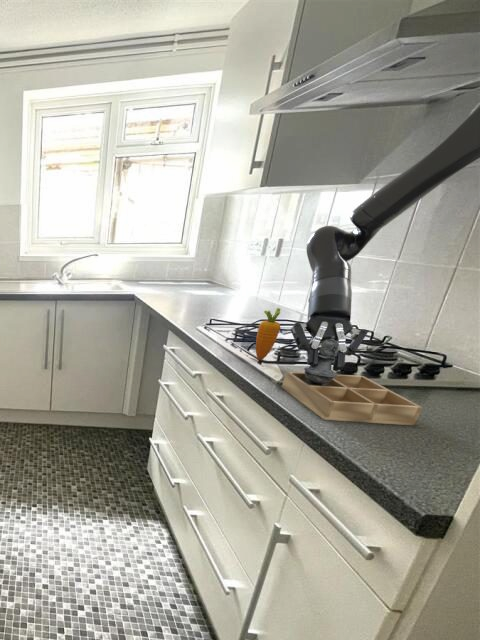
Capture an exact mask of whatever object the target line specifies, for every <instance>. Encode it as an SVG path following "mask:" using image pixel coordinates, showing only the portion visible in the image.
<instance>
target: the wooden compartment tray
mask: <svg viewBox="0 0 480 640" xmlns="http://www.w3.org/2000/svg"><path fill="white" fill-rule="evenodd" d="M304 380H308V379H307V378H306V377H305V372H297V371H286V373H285V375H284V378H283V381H282V384H281V388H282V389H283V390H284V391H285V392H287V393H288V394H289V395H291V396H292V397H293V398H294V399H296V400H297V401H299V402H300V403H301V404H302V405H304V406H305V407H306V408H308V409H309V410H311V411H312V412H313V413H314V414H316V415H317V416H319V417H320V418H321V419H323V420H325V421H338V422H354V423H355V422H356V423H367V424H368V423H370V424H384V425H397V426H399V425H400V426H415V424H416V423H417V420H418V419H419V417H420V414H421V412H422V410H423V408H424V407H422V406H421V405H418V404H417V403H415V402H413V401H411V400H410V399H407V398H406V397H404V396H402V395H400V394H398V393H397V392H394V391H393V390H391V389H389V388H388V387H385V386H383V385H381V384H379V383H378V382H376V381H374V380H372V379H370V378H368V377H366V376H364V375H353V374H352V375H351V374H337V376H335V377H334V378H333V379H332V380H331V381H330V382H328V383H325V384H326V385H327V386H312V385H308V384H307V383H305V382H304Z"/></svg>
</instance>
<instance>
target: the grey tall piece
mask: <svg viewBox="0 0 480 640" xmlns="http://www.w3.org/2000/svg"><path fill="white" fill-rule="evenodd" d="M334 338H335V337H334V336H332V337H331V339H327V340H325V341H322V343H321V345H320V348H319V352H318V364H317V366H316V367H315V368H310V365H308V366H304V368H303V370H304V373H305V377H306V378H307V379H308V380H304V382H305V383H307V384H308V385H312V386H327V385H326V384H325V383H328V382H330V381H331V380H332V379H333V378H334V377H335V376H337V375H338V374H337V373H336V371H333V369H332V367H333V360H334V359H335V358H337V357H336V356H335V354H336V351H337V349H338V346H339V343H338V342H337V341H336V340H335V339H334Z"/></svg>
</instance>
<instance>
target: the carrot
mask: <svg viewBox="0 0 480 640" xmlns="http://www.w3.org/2000/svg"><path fill="white" fill-rule="evenodd" d="M263 313H264V314H265V315H266V317H267V320H262V321H261V322H260V323H259V326H258V330H257V334H256V338H255V340H256V342H255V356H256V358H257V361H258V362H261V361H263V360H264V359H265V358H266V357H267V356H268V354H269V353H270V352H271V350H272V348H273V347H274V345H275V343H276V341H277V338H278V336H279V334H280V330H281V323H280V322H278V321H276V320H277V319H278V317H279V315H280V314H281V308H279V307H277V308H276V309H275V311H274V314H272V312H271V310H264V311H263Z"/></svg>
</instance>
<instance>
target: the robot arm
mask: <svg viewBox="0 0 480 640" xmlns="http://www.w3.org/2000/svg"><path fill="white" fill-rule="evenodd" d="M479 159H480V100H479V101H478V102H477V103H476V104H475V106H473V109H471V111H470V113H469V115H468V116H467V117H466V118H465V119H464V120H463V121H462V122H461V124H459V125H458V126H457V127H456V128H455V129H454V130H453V131H452V132H451V133H450V134H449V135H448V136H447V137H446V138H445V139H444V140H443V141H441V143H439V144H438V145H437V146H436V147H434V149H432V150H431V151H430V152H429V153H428V154H426V155H425V156H424V157H422V158H421V159H419V160H417V162H416V163H414V164H413V165H412V166H410V167H408V168H407V169H405V170H404V171H403V172H401V173H400V174H398V175H397V176H395V177H394V178H393V179H391V180H390V181H389V182H387V183H386V184H384V185H383V186H382V187H380V188H379V189H378V190H377V191H375V192H374V193H373V194H372V195H370V196H369V197H368V198H367V199H365V200H364V201H363V202H362V203H360V205H359V204H358V206H357V207H355V209H353V210H352V211H351V213H350V214H349V220H350V222H351V223H352V224H353V225H354V226H355V228H353V230H352V231H350V232H348V231H346V230H344V229H341V228H340V227H337V226H334V225H325V226H320V227H319V228H318V229H316V230H315V231H314V232H312V234H311V235H310V236H309V237H308V240H307V243H306V247H305V248H306V250H305V251H306V256H307V260H308V264H309V267H310V270H311V272H312V273H311V274H312V276H311V277H312V278H311V288H310V292H309V297H308V309H307V321H306V322H305V323H304V322H303V323H300V322H295V323H294V324H293V325H292V327H291V328H290V332H291V334H292V337H293V339H294V342H295V344H296V346H297V349H298V350H299V351H305V352H307V356H306V364H307V365H308V366H310V368H315V367H316V366H317V364H318V353H319V351H320V349H318V348H319V347H320V346H319V345H320V343H321V342H323V341H325V340H327V339H331V337H332V336H334V337H335V338H334V339H335V340H336V341H337V342H338V343H339V346H338V349H337V351H336V354H335V356H336V357H337V358H335V359H334V360H333V363H332V371H334V372H338V371H340V370H342V369H343V368H344V366H345V365H346V356H348V357H350V356H352V355H353V354H354V353H355V352H356V351H358V349H359V347H360V346H361V344H362V342H363V341H364V339H365V338H366V337H367V335H368V333H369V331H368V330H367V329H366V328H363V329H361V330H360V329H357V328H355V327H354V326H353V324H352V323H351V319H352V299H353V298H352V297H353V290H352V289H353V288H352V266H351V264H350V263H349V261H351V260H353V259H354V258H355V257H357V256H358V255H359V254H360V253H361V252H362V251H363V249H364V248H365V247H366V246H367V245H368V244H369V243H370V241H372V239H374V237H375V236H376V235H377V234H378V233H379V232H380V231H381V230H382V229H383V228H384V227H385V226H387V225H388V224H390V223H391V222H393V221H394V220H395V219H397V218H398V217H399V216H401V215H402V214H404V213H405V212H406V211H408V210H409V209H411V208H412V207H413V206H414V205H416V204H417V203H419V202H420V201H421V200H422V199H423V198H425V197H426V196H427V195H428V194H430V193H431V192H433V191H434V190H435V189H436V188H438V187H439V186H441V185H442V184H443V183H444V182H446V181H448V180H449V179H450V178H452V177H453V176H455V175H456V174H458V173H459V172H461V171H463V170H464V169H465V168H466V167H468V166H470V165H471V164H473V163H474V162H476V161H478V160H479ZM305 331H307V332H308V334H309V335H310V336H311V338H310V341H309V340H308V338H307V335H306V333H305ZM347 335H350V339H351V340H352V341H351V342H350V344H349V345H348V346H347V345H346V336H347Z"/></svg>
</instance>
